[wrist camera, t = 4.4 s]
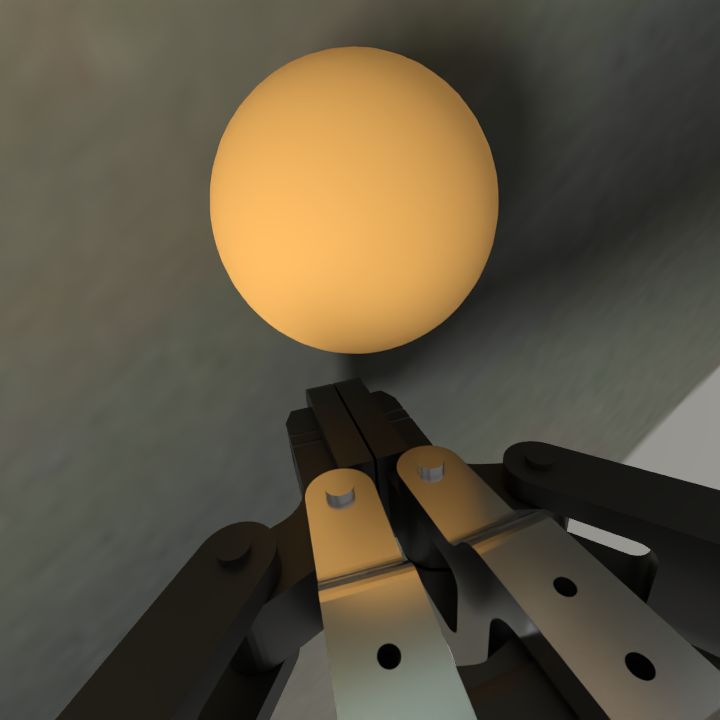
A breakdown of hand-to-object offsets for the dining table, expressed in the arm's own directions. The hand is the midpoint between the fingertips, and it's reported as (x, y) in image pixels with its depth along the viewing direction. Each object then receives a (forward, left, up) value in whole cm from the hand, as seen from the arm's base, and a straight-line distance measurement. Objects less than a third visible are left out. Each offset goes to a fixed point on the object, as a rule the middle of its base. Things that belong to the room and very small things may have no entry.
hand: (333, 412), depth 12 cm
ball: (-5, +1, +1) cm, 5 cm away
